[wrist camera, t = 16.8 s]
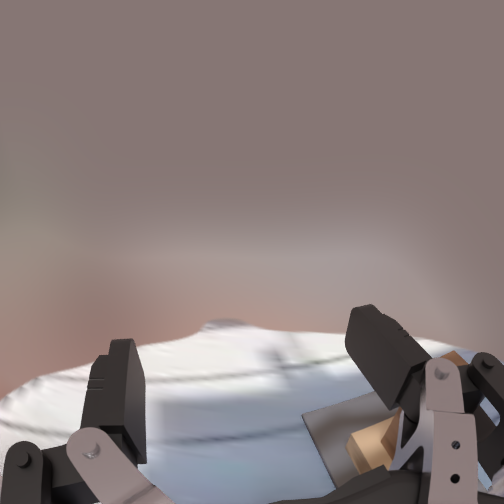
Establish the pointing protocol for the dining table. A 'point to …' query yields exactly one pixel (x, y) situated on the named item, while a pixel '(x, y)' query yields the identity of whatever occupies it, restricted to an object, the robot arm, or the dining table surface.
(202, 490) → the dining table surface
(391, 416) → the plinth
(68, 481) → the robot arm
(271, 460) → the dining table surface
